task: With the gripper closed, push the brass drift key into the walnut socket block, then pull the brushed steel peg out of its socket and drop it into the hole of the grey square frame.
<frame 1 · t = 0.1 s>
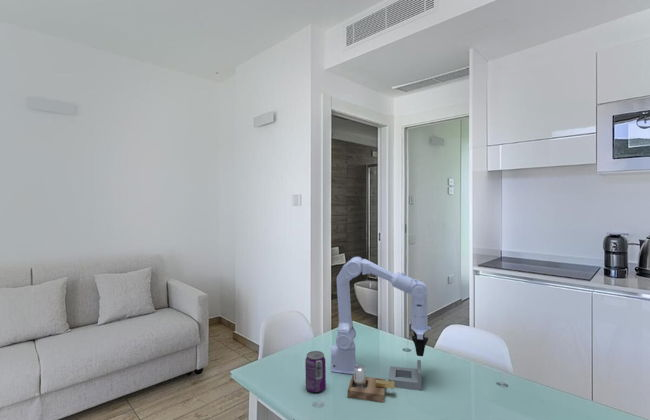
hand: (419, 351, 123), 10 cm above the table, tool pointing down, fingers open, 7 cm apart
steel peg: (360, 390, 115), resting in socket block
drift key: (385, 384, 113), point 3 cm above the table, slide at 0.0 cm
beverage can: (315, 388, 117), on the table
socket block: (367, 391, 115), on the table
grey square frame: (403, 380, 121), on the table
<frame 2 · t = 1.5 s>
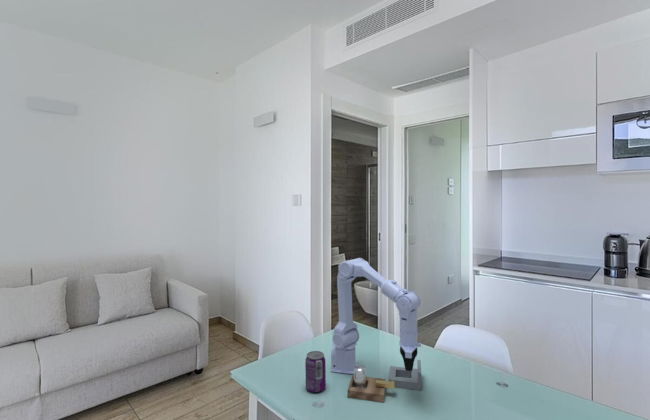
hand: (408, 369, 111), 9 cm above the table, tool pointing down, fingers closed
nothing on the table moved.
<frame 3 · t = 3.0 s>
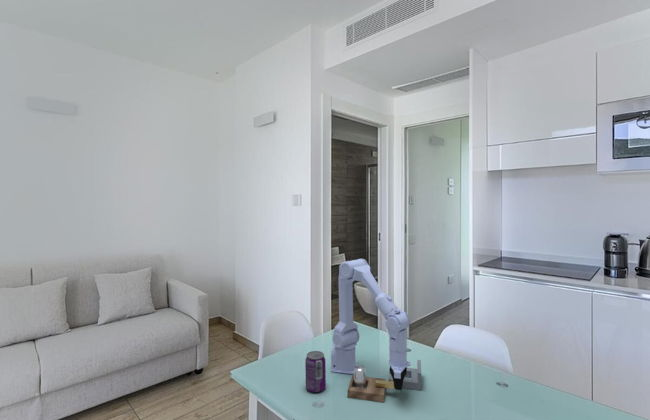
hand: (398, 388, 112), 2 cm above the table, tool pointing down, fingers closed, pressing on drift key
drift key: (384, 384, 113), point 3 cm above the table, slide at 0.1 cm, touching gripper
everything else where it was.
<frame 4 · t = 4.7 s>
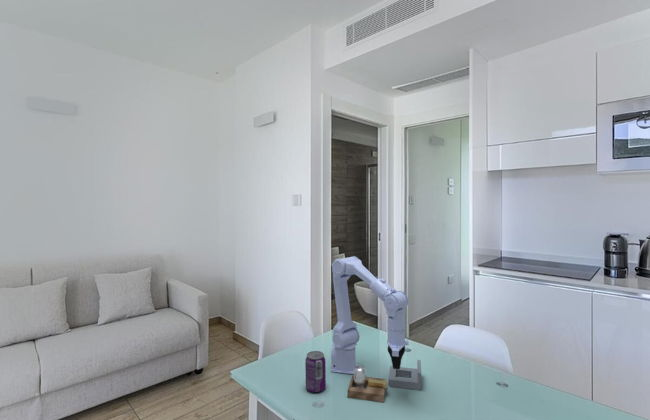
hand: (396, 368, 112), 9 cm above the table, tool pointing down, fingers closed
drift key: (377, 383, 114), point 3 cm above the table, slide at 2.6 cm
everything else where it was.
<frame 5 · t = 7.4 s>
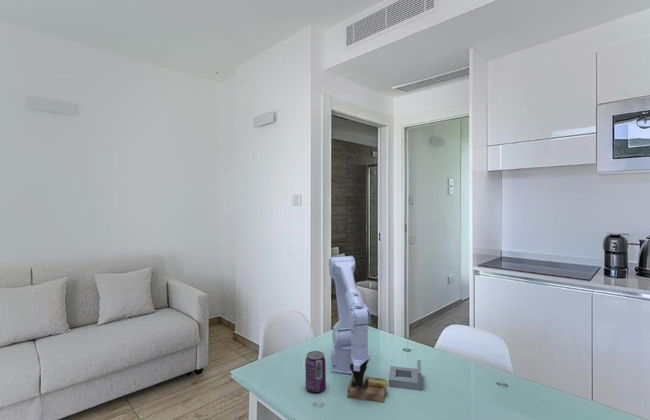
hand: (360, 381, 115), 3 cm above the table, tool pointing down, fingers closed on steel peg, 4 cm apart
steel peg: (360, 390, 115), resting in socket block, touching gripper
everything else where it was.
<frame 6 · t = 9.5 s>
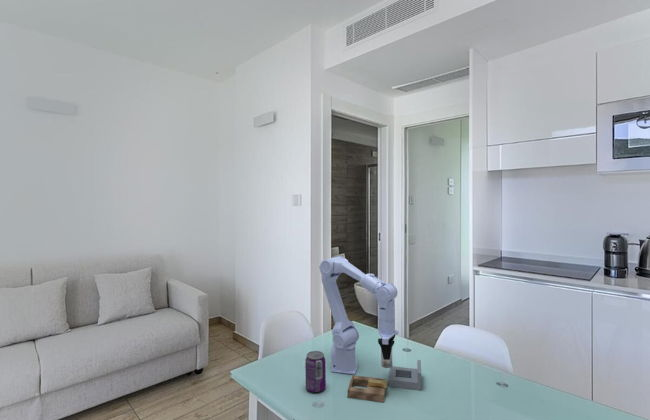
hand: (387, 356, 119), 10 cm above the table, tool pointing down, fingers closed on steel peg, 4 cm apart
steel peg: (386, 365, 119), point 7 cm above the table, touching gripper
everything else where it was.
when the fingers open (5 cm above the table, at t = 11.7 s): steel peg drops 1 cm, resting in grey square frame.
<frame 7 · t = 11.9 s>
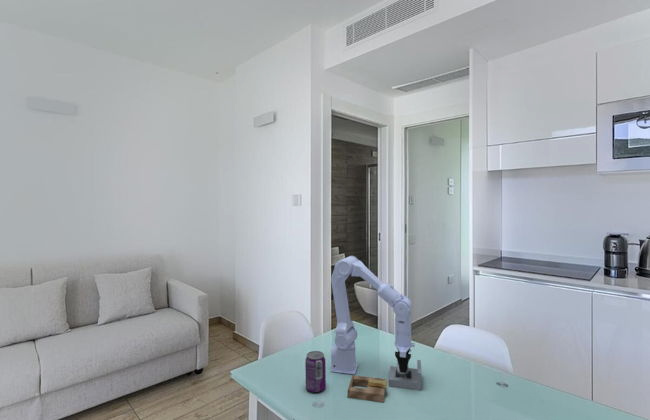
hand: (403, 368, 121), 5 cm above the table, tool pointing down, fingers open, 5 cm apart
steel peg: (402, 380, 122), resting in grey square frame
everything else where it was.
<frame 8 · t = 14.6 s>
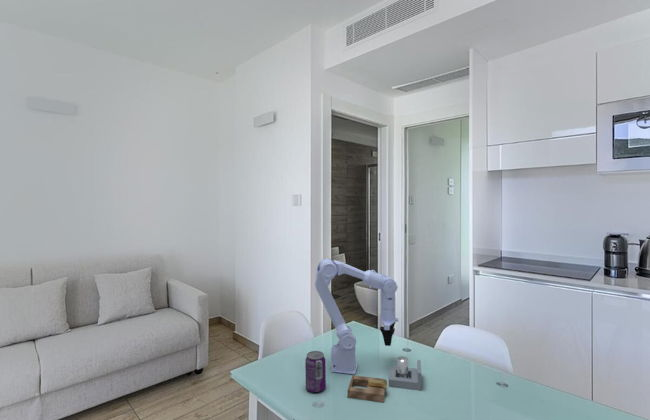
hand: (388, 341, 132), 10 cm above the table, tool pointing down, fingers open, 7 cm apart
nothing on the table moved.
at the end: drift key slide at 2.6 cm; steel peg 0.3 cm off-centre on the grey square frame, point 0.0 cm above the grey square frame's base; steel peg tilted 0° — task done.
